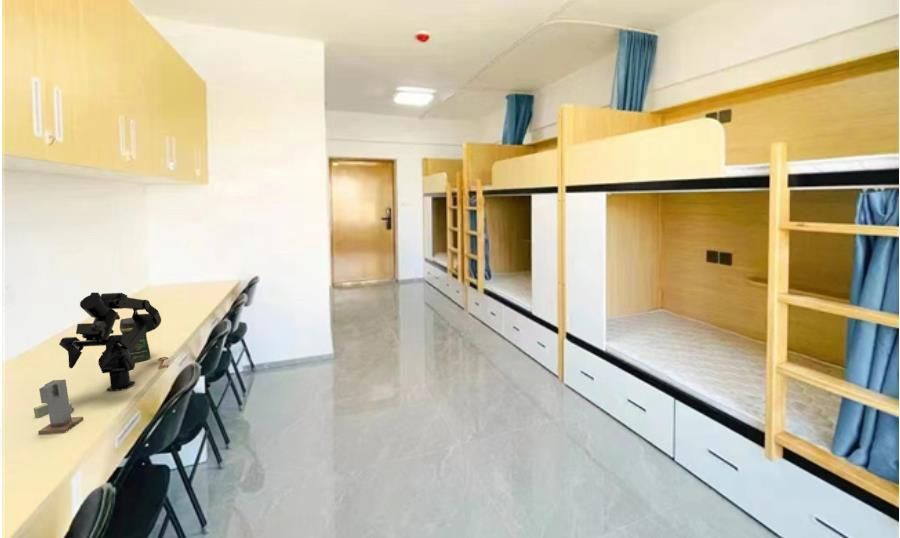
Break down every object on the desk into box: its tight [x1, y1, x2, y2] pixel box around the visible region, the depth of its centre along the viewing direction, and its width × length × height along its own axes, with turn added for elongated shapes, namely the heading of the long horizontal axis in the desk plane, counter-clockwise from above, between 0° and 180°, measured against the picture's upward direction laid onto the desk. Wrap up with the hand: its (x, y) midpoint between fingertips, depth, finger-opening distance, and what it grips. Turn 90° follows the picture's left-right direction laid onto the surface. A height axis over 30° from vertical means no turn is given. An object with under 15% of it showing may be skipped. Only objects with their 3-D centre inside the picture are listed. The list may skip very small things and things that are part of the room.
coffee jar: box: [119, 317, 151, 363], centre depth 192 cm, size 10×8×19 cm
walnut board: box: [37, 416, 85, 435], centre depth 135 cm, size 8×7×1 cm
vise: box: [33, 403, 75, 419], centre depth 144 cm, size 6×9×3 cm
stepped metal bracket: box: [38, 379, 72, 427], centre depth 133 cm, size 6×3×13 cm, turn 7°
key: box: [157, 356, 170, 370], centre depth 189 cm, size 6×1×15 cm
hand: (86, 367), depth 147 cm, fingers open, 9 cm apart
